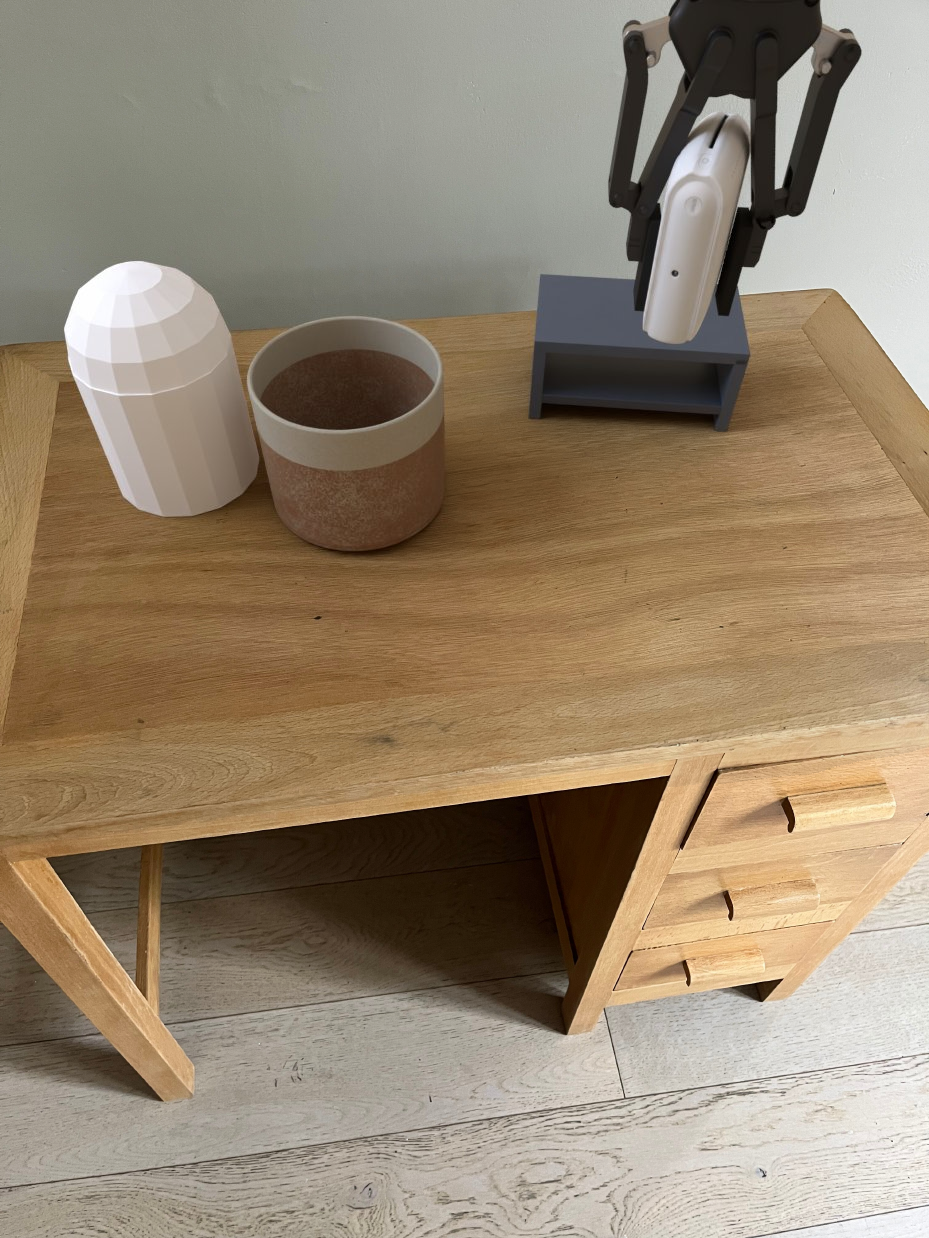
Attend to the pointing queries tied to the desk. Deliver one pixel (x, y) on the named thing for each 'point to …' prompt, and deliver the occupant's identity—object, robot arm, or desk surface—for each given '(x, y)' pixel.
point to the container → (162, 388)
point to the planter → (351, 430)
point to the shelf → (631, 353)
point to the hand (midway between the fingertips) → (680, 302)
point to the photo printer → (696, 226)
